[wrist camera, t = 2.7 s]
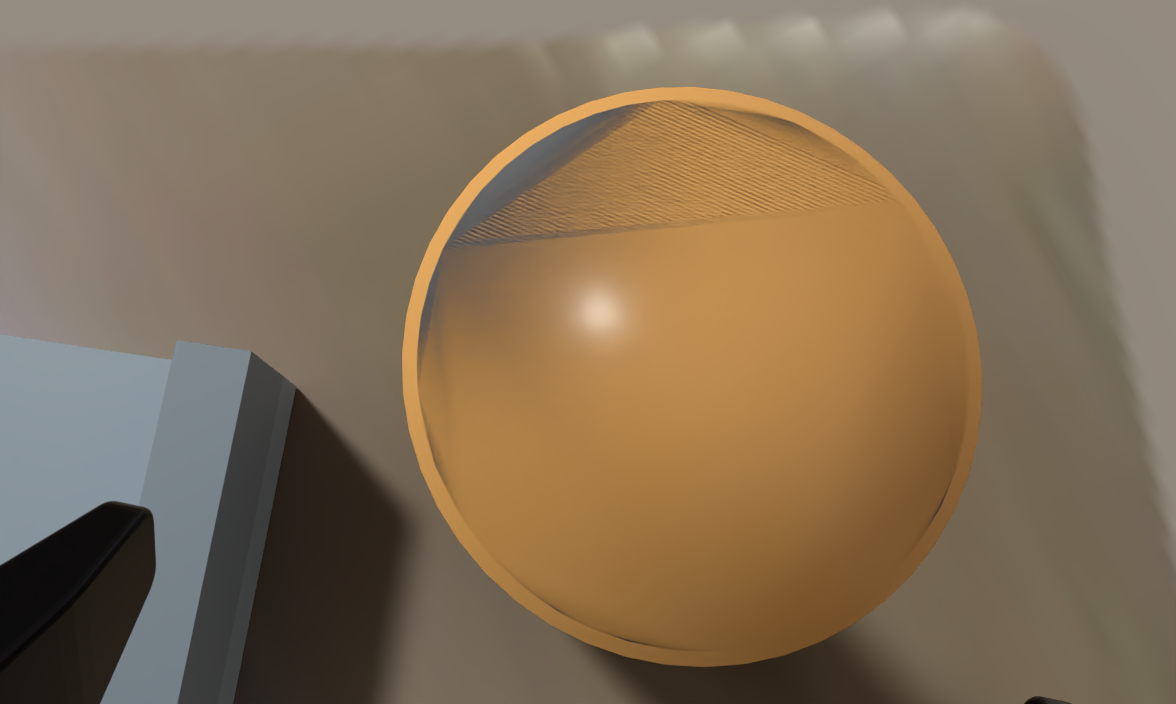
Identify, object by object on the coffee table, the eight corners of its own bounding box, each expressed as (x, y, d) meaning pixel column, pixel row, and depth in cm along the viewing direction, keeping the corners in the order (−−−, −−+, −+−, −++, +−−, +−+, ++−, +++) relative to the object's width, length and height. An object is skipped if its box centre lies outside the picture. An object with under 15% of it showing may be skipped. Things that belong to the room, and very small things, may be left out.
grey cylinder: (657, 597, 19) (965, 704, 7) (445, 568, 19) (351, 623, 6) (682, 390, 20) (998, 136, 8) (479, 358, 20) (456, 44, 7)
